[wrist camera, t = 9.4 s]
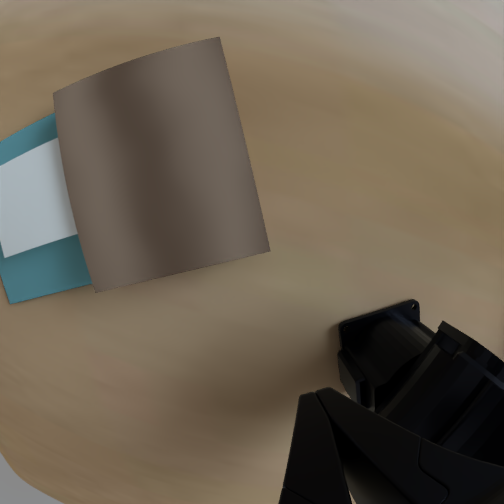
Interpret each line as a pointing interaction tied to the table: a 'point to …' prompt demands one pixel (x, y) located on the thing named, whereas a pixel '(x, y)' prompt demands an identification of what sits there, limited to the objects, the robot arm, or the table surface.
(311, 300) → the table surface
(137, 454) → the table surface
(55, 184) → the tile
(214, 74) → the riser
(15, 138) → the mat
